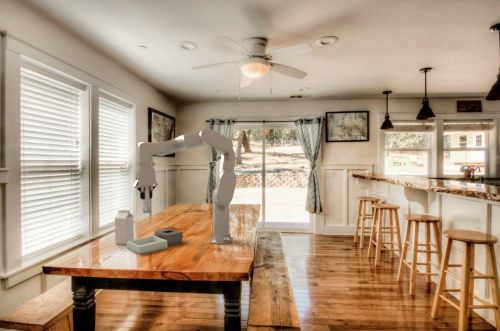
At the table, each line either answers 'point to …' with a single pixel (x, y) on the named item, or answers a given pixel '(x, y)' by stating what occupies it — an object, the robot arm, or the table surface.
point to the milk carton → (123, 227)
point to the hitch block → (169, 236)
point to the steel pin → (146, 199)
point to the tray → (146, 244)
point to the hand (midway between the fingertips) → (146, 198)
